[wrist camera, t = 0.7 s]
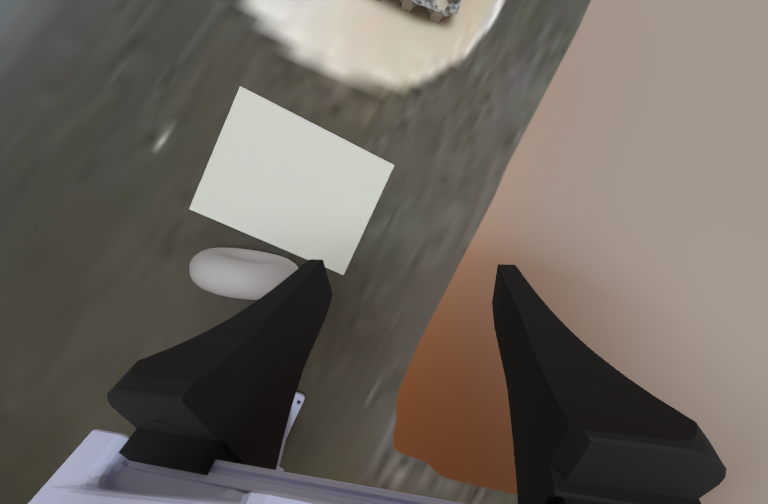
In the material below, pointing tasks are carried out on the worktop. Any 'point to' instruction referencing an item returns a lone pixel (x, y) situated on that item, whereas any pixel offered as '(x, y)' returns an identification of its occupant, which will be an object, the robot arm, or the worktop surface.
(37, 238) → the worktop surface
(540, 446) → the robot arm
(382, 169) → the mat
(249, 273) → the donut
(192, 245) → the worktop surface
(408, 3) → the egg carton
